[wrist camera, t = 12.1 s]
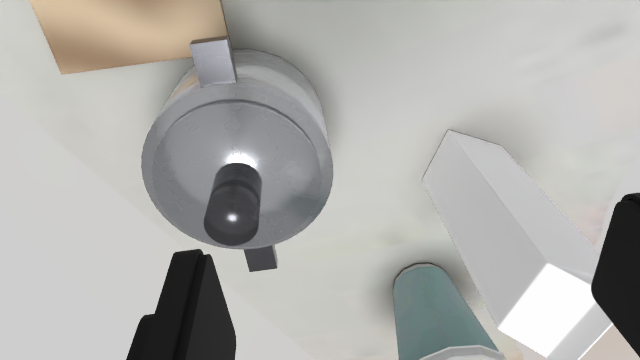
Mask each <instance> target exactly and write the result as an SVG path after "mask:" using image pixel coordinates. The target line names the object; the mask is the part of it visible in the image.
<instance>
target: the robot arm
mask: <svg viewBox="0 0 640 360" xmlns="http://www.w3.org/2000/svg"><path fill="white" fill-rule="evenodd" d="M591 292H592V296H593V298H594V300H595V301H596V303H597V304H598V305H599V306H600V308H601V309H602V310H603V311H604V313H605V314H606V315H607V316H608V318H609V319H610V320H611V322H612V323H613V324H614V325H615V327H616V328H617V329H618V330H619V332H620V333H621V334H622V335H623V337H624V338H625V339H626V340H627V342H628V343H629V344H630V346H631V347H632V348H633V349H634V351H635V352H636V353H637V354H638V356H639V357H640V193H633V194H628V195H625V196H624V197H623V198H622V200H621V202H618V203H617V204H616V206H615V208H614V212H613V215H612V218H611V222H610V225H609V228H608V231H607V234H606V238H605V241H604V244H603V248H602V251H601V254H600V257H599V261H598V264H597V267H596V270H595V274H594V277H593V280H592V284H591ZM235 351H236V335H235V330H234V327H233V324H232V321H231V317H230V314H229V311H228V308H227V304H226V301H225V298H224V295H223V292H222V289H221V285H220V282H219V279H218V275H217V272H216V269H215V266H214V263H213V259H212V257H211V255H210V254H207V255H203V252H202V251H201V249H195V250H188V251H180V252H175V253H174V254H173V257H172V260H171V263H170V266H169V269H168V272H167V276H166V279H165V282H164V285H163V289H162V292H161V295H160V298H159V301H158V305H157V308H156V311H155V314H150V315H144V316H143V317H142V318H141V320H140V322H139V324H138V327H137V330H136V333H135V336H134V339H133V342H132V344H131V347H130V350H129V353H128V356H127V359H126V360H235Z"/></svg>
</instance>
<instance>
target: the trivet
mask: <svg viewBox="0 0 640 360" xmlns="http://www.w3.org/2000/svg"><path fill="white" fill-rule="evenodd" d="M30 2H31V5H32V7H33V9H34V12H35V14H36V16H37V19H38V21H39V23H40V26H41V28H42V30H43V33H44V35H45V37H46V40H47V42H48V44H49V46H50V49H51V51H52V53H53V56H54V58H55V60H56V63H57V65H58V67H59V70H60V72H61V74H70V73H77V72H85V71H92V70H99V69H107V68H114V67H122V66H129V65H137V64H144V63H151V62H159V61H166V60H174V59H181V58H188V57H192V53H191V50H190V46H189V44H190V43H191V41H192V40H196V39H204V38H211V37H219V36H226V35H228V33H227V29H226V24H225V20H224V15H223V11H222V6H221V1H220V0H30Z"/></svg>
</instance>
